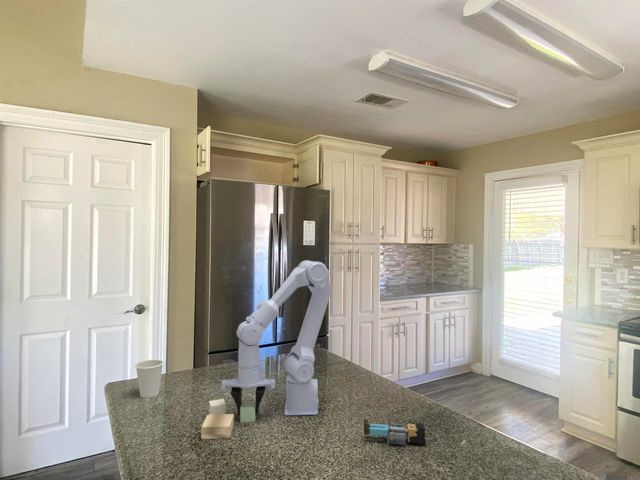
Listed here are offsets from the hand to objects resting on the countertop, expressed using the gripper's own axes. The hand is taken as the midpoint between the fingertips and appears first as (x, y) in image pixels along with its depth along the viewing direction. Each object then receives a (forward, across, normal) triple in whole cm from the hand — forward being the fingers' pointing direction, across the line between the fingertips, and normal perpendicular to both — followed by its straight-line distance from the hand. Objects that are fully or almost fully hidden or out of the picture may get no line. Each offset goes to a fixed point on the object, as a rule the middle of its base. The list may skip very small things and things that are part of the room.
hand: (248, 413), depth 108 cm
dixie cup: (+2, +34, -19) cm, 39 cm away
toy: (+2, -38, +14) cm, 40 cm away
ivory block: (+2, +9, -2) cm, 9 cm away
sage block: (+1, 0, 0) cm, 1 cm away
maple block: (+1, +7, +7) cm, 10 cm away
